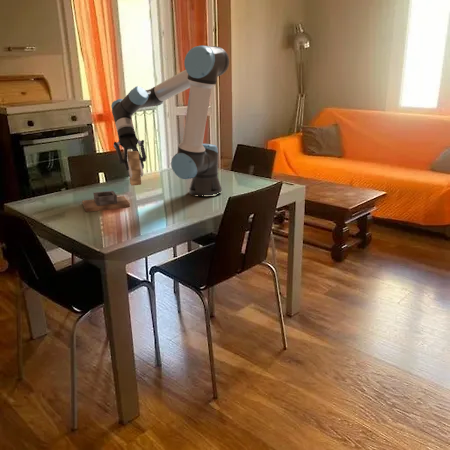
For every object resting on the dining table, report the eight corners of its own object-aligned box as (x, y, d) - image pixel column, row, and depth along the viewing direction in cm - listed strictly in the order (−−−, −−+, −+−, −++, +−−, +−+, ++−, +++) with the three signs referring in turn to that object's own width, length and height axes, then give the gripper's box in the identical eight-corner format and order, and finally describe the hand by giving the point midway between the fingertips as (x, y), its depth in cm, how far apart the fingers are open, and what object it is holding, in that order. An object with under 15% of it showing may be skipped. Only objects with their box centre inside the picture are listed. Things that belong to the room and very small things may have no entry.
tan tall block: (139, 182, 200) (136, 150, 196) (141, 184, 197) (138, 152, 192) (130, 183, 199) (127, 151, 194) (132, 185, 195) (129, 153, 191)
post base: (124, 199, 204) (123, 188, 202) (129, 206, 193) (128, 195, 192) (82, 203, 197) (81, 192, 195) (85, 212, 187) (84, 200, 185)
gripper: (143, 134, 208) (155, 177, 199) (105, 137, 202) (115, 182, 193) (145, 124, 202) (157, 168, 193) (106, 126, 196) (117, 172, 187)
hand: (136, 175), depth 193 cm, fingers closed on tan tall block, 4 cm apart
